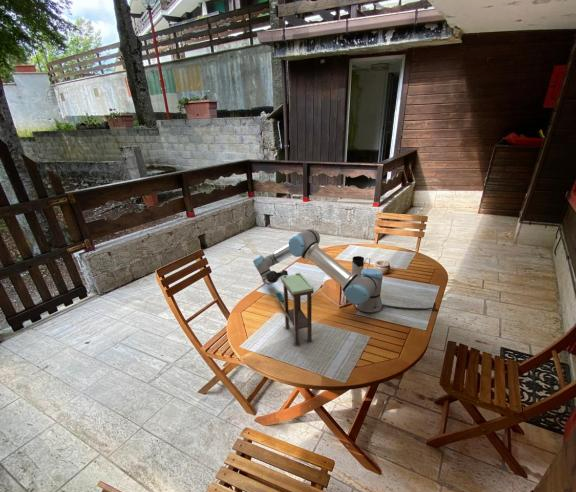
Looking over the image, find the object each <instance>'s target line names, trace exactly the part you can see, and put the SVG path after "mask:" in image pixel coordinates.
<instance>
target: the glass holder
mask: <svg viewBox="0 0 576 492" xmlns="http://www.w3.org/2000/svg"><path fill="white" fill-rule="evenodd" d="M368 259H369V262H368V264H367V266H366V268H370V267H369V266H370V264H371V258H370V257H366V258H364V256H361V255H355V256H352V259H351V260H352V261H351V272H350V273H351V274H357V275H358V276H360V277H361V272H362V270H363V269H365V267H364V265H366V261H367V260H368Z"/></svg>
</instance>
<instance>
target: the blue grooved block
mask: <svg viewBox="0 0 576 492" xmlns="http://www.w3.org/2000/svg"><path fill="white" fill-rule="evenodd" d="M275 297H276V298H277V300H278V302H279V304H280V305H281V306H282V309H283V311H285V307H284V295H283V294H282V293H281V291H280V292H276V293H275ZM288 310H291V309H290V308H289V307H288Z"/></svg>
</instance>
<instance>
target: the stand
mask: <svg viewBox="0 0 576 492" xmlns="http://www.w3.org/2000/svg"><path fill="white" fill-rule="evenodd" d="M280 280H281V283H282V285H283V286H282V287H283V298H284V307H285V310H284V323H285V324H284V325H285V330H286V329H290V324H291V325H292V327H293V330H294V331H293V332H294V333H293V334H294V335H293V336H294V345H295V346H299V345H300V343H299V330H302V329H306V335H307V343H312V298H313V297H312V296H313V295H312V294H314V292H315V291H314V289H313V291H308V292H303V293H297V294H292V292H291V291H290V289H289V288H288V287H287V285H286V284H285V282H284V281H283V280H282V278H281V277H280ZM289 294H290V295H291V297H292V302H293V303H292V304H293V306H292V307H293V308H291V309H290V310H288V308H289ZM302 296H306V314H305V313H304V311H303V310H302V305H301V303H302V302H301V300H302V299H301V297H302Z"/></svg>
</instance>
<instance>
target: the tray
mask: <svg viewBox="0 0 576 492" xmlns="http://www.w3.org/2000/svg"><path fill="white" fill-rule="evenodd" d="M281 278H282V280H283V281H284V282H285V284H286V285H287V287H288V288H289V289H290V291H291V292H292V294H297V293H303V292H308V291H313V290H314V287H313V286H312V285H311V283H309V281H308V280H307V279H306V278H305V276H304V275H303V274H302V273H301V272H296V273H295V274H291V275H287V276H286V275H284V276H281V277H280V279H281Z"/></svg>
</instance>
